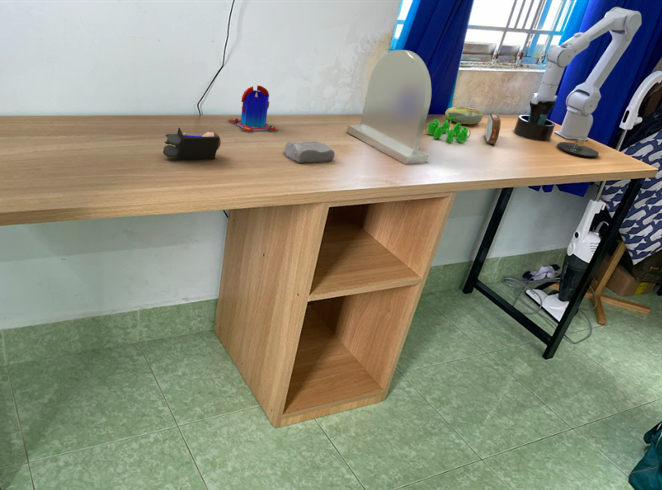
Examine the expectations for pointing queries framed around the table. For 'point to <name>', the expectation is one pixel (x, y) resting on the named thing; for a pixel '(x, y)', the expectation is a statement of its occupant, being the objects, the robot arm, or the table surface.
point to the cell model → (464, 115)
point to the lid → (578, 148)
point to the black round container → (534, 129)
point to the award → (396, 107)
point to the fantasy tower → (254, 110)
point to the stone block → (309, 152)
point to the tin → (492, 128)
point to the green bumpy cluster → (447, 130)
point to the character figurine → (192, 146)
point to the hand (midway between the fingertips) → (536, 122)
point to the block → (540, 119)
